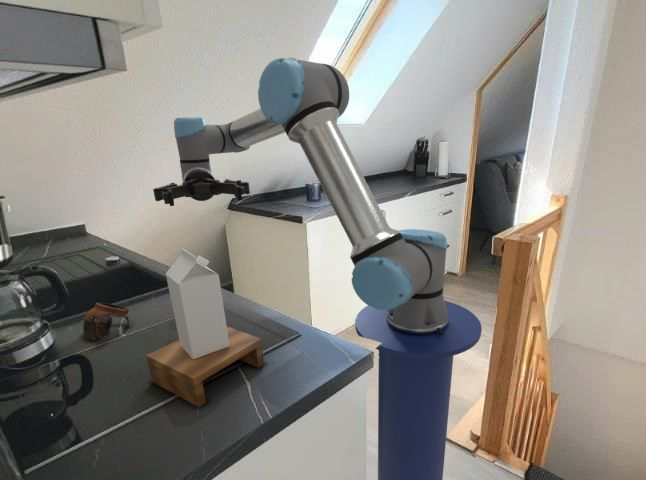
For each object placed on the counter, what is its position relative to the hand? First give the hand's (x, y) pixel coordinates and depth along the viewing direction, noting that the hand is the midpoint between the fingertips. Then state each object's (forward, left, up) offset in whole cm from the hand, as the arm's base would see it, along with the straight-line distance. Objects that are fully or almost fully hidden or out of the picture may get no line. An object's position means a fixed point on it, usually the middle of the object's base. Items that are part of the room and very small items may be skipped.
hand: (206, 196), depth 84 cm
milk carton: (-10, +13, -26) cm, 31 cm away
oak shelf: (-10, +13, -32) cm, 36 cm away
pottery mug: (+25, +15, -32) cm, 43 cm away
